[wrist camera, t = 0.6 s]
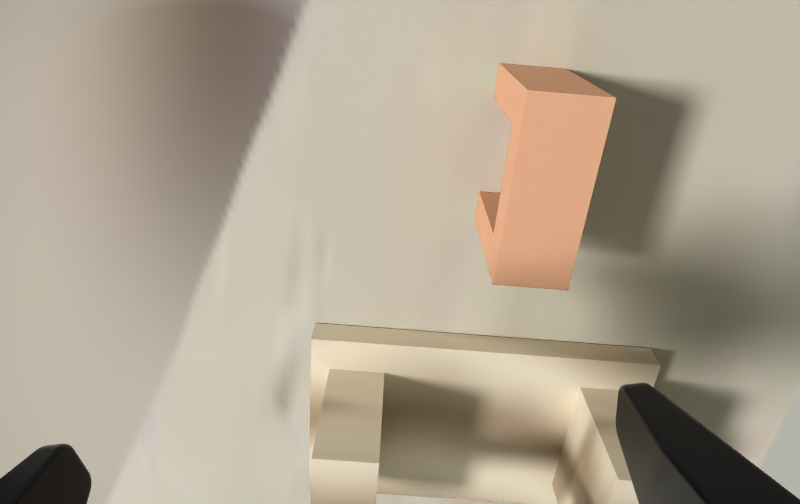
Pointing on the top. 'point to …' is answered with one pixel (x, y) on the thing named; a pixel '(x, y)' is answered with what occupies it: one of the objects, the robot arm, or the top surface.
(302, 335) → the top surface
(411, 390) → the cream rod stand
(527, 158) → the pink block
